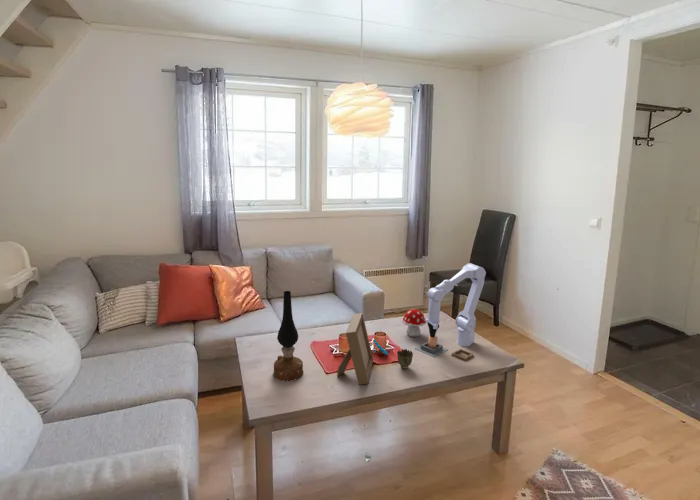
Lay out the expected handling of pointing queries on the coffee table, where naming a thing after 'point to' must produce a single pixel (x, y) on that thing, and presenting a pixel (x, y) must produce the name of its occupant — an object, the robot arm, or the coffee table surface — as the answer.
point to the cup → (404, 358)
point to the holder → (462, 355)
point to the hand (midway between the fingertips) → (432, 336)
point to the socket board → (429, 351)
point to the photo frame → (358, 350)
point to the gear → (380, 348)
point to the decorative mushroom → (413, 321)
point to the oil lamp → (287, 345)
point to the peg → (432, 342)
